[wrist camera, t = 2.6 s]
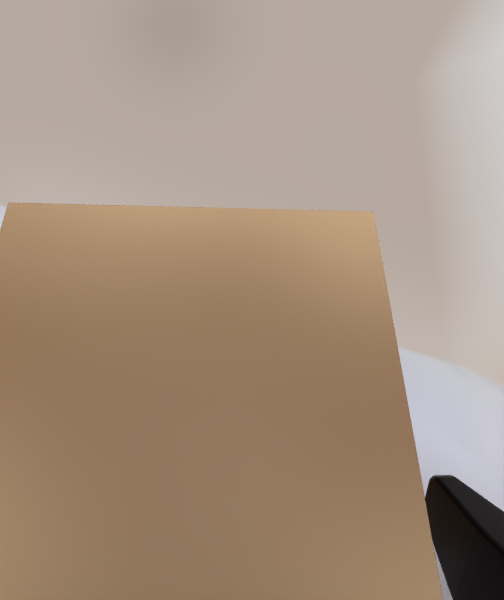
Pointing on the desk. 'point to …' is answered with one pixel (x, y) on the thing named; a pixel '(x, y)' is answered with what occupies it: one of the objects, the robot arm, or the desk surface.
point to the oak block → (203, 409)
